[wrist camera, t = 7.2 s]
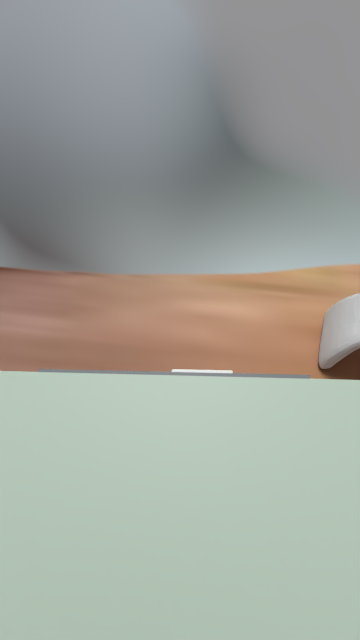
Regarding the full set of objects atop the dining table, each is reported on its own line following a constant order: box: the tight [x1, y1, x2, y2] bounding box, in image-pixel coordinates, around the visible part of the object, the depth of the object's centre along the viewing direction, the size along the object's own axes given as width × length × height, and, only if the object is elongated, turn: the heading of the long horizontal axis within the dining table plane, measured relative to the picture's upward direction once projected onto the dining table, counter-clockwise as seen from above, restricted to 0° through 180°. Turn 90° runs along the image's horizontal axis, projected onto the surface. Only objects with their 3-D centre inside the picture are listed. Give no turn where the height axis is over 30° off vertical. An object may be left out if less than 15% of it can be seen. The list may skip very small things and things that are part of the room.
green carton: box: [0, 371, 360, 640], centre depth 8 cm, size 6×4×12 cm
